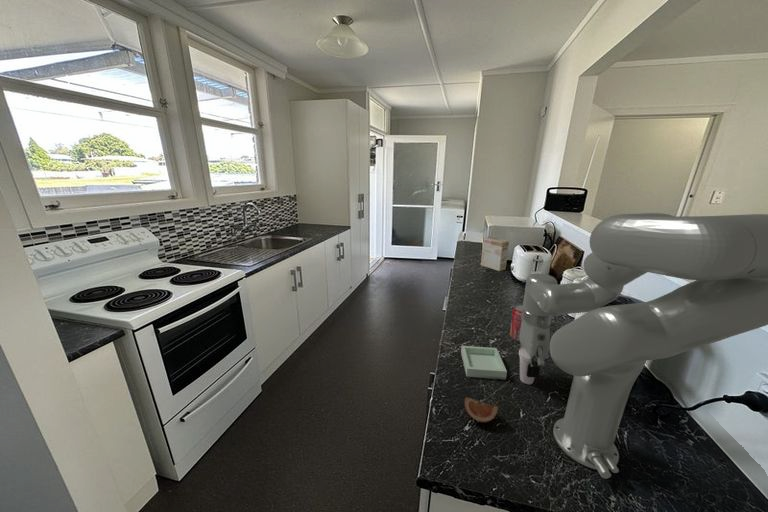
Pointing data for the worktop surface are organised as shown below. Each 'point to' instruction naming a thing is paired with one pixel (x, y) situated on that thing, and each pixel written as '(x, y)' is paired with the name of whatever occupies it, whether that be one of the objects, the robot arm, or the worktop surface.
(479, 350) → the tray
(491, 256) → the coffeecake box
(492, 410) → the fruit slice
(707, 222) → the robot arm
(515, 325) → the soda can
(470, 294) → the worktop surface
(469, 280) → the worktop surface
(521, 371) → the smoothie
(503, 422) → the worktop surface
